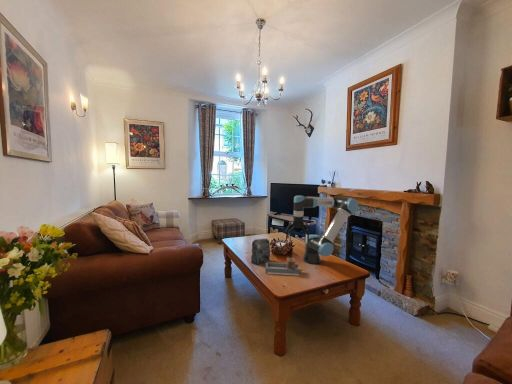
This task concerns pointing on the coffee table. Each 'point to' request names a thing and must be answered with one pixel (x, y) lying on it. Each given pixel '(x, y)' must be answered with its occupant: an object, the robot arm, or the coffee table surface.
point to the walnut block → (290, 263)
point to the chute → (280, 269)
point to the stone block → (260, 251)
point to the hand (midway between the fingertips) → (297, 242)
